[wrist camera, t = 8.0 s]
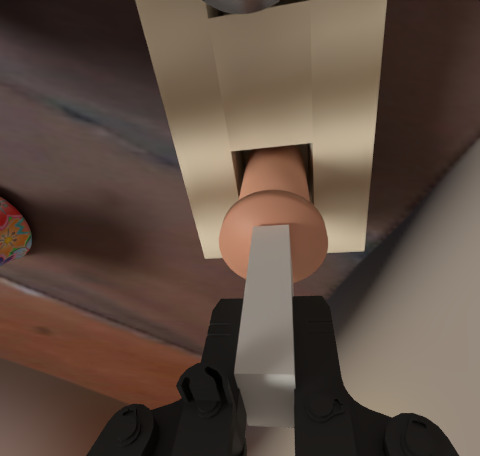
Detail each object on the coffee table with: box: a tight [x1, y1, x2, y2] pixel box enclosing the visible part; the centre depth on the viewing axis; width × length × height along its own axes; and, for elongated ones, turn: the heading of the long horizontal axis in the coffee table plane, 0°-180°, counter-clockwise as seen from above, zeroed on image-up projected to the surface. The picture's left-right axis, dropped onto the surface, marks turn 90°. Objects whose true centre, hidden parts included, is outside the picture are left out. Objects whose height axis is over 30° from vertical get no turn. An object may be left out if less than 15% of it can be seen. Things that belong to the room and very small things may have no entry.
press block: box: [135, 0, 387, 259], centre depth 18 cm, size 22×11×6 cm, turn 9°
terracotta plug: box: [219, 145, 328, 283], centre depth 18 cm, size 5×5×9 cm
